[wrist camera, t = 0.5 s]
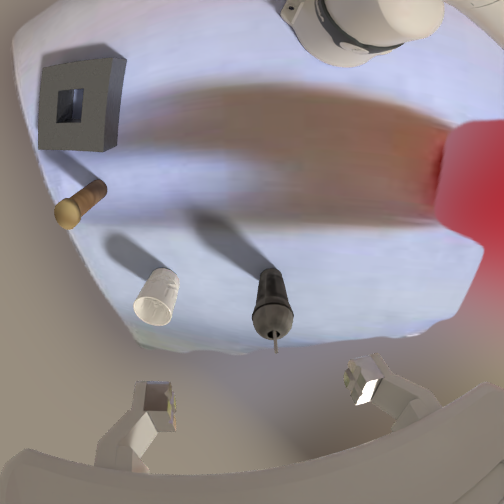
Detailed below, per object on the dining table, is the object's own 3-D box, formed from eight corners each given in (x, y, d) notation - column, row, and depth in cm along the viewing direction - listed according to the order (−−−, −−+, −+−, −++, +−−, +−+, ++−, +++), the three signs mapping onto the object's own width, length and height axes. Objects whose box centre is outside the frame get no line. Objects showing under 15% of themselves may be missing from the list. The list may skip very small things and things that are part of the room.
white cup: (177, 264, 55) (164, 296, 47) (186, 293, 60) (176, 326, 51) (144, 266, 56) (127, 296, 48) (154, 294, 60) (141, 325, 52)
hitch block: (58, 67, 32) (42, 67, 28) (126, 59, 33) (113, 57, 29) (53, 143, 41) (38, 149, 36) (116, 145, 42) (103, 152, 38)
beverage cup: (250, 287, 58) (246, 366, 41) (257, 259, 54) (255, 339, 37) (283, 292, 59) (290, 371, 42) (292, 265, 55) (304, 345, 38)
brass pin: (88, 175, 45) (52, 200, 35) (109, 178, 45) (75, 203, 35) (89, 199, 47) (56, 227, 37) (109, 202, 48) (78, 231, 38)
